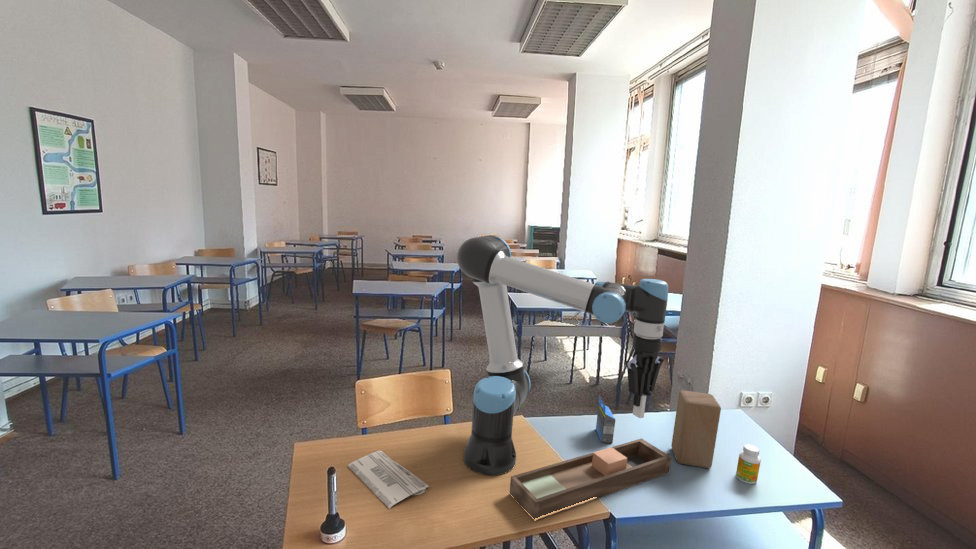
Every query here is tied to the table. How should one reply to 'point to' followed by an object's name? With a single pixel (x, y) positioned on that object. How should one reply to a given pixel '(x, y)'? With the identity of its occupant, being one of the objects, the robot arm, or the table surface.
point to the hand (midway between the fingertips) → (638, 415)
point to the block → (695, 428)
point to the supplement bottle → (748, 464)
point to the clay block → (609, 461)
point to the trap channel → (585, 478)
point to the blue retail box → (605, 423)
